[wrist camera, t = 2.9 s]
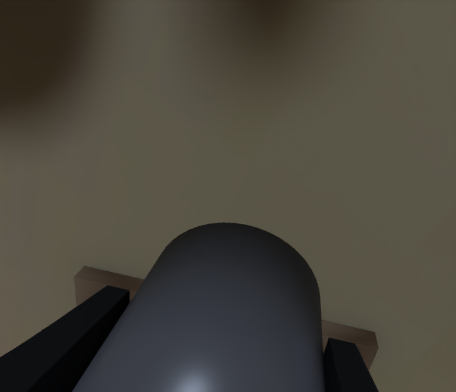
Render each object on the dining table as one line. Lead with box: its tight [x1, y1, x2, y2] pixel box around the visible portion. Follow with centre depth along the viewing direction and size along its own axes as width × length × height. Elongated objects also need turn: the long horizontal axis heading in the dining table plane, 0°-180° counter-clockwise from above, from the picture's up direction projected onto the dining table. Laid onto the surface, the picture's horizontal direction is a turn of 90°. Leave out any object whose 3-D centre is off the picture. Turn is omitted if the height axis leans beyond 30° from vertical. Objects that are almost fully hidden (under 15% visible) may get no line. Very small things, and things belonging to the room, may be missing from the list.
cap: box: [72, 223, 325, 392], centre depth 8 cm, size 5×5×6 cm
